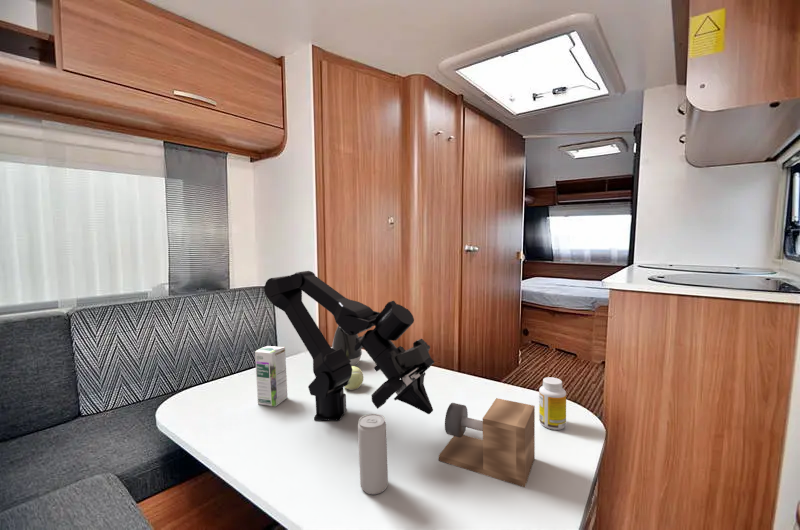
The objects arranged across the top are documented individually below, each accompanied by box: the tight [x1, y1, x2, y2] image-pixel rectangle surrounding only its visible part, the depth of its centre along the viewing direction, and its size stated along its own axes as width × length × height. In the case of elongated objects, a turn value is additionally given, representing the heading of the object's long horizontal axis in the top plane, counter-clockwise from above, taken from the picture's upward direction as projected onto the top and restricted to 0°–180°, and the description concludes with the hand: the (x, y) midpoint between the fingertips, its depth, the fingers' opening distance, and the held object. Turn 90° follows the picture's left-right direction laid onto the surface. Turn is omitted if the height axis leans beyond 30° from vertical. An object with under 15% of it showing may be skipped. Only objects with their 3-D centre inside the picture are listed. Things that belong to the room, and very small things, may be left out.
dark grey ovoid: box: [331, 325, 363, 367], centre depth 122 cm, size 10×10×15 cm
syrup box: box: [254, 345, 289, 407], centre depth 97 cm, size 6×6×14 cm
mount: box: [438, 397, 536, 488], centre depth 69 cm, size 16×9×10 cm, turn 60°
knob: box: [444, 402, 483, 438], centre depth 70 cm, size 8×6×6 cm
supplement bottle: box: [538, 376, 567, 431], centre depth 81 cm, size 6×6×10 cm
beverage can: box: [357, 413, 389, 496], centre depth 62 cm, size 5×5×12 cm
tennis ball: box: [343, 365, 364, 391], centre depth 104 cm, size 6×7×7 cm
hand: (431, 412), depth 74 cm, fingers closed
